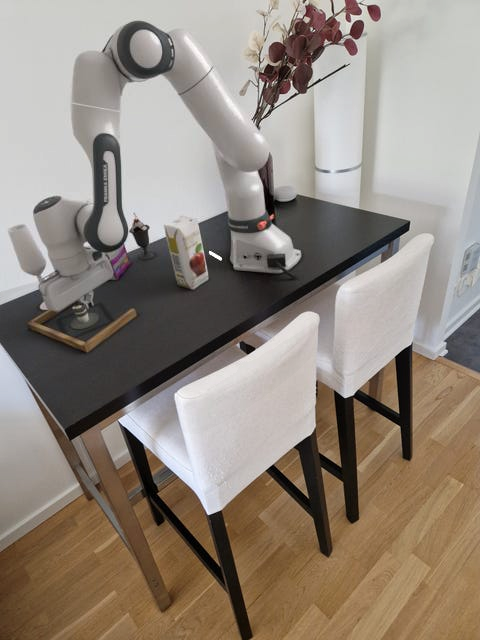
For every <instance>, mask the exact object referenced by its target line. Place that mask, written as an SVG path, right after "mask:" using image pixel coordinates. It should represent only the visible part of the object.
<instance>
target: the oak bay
mask: <svg viewBox="0 0 480 640" xmlns="http://www.w3.org/2000/svg"><path fill="white" fill-rule="evenodd" d="M77 302H78V301H77V300H76V301H75V302H73V303H71V304H70V305H68V306H67V307H65V308H64V309H62V310H61V311H59V312H55V311H52V310H45V311H44V312H42V313H41V314H39V315H38V316H35V318H33V319H31V320H29V321H28V322H27V323H26V324H27V326H28V328H29V329H30V330H31V331H34V332H36V333H39V334H41V335H44V336H46V337H49V338H51V339H54V340H56V341H58V342H61V343H63V344H65V345H68V346H70V347H73V348H74V349H77V350H80V351H81V352H82V351H83V352H85V353H86V354H87V353H89V352H90V351H93V349H95V348H96V347H97V346H99V345H100V344H102V342H104V341H105V340H106V339H107V338H109V337H110V336H112V335H114V333H116V332H117V331H118V330H120V329H121V328H123V327H124V326H125V325H126V324H128V323H129V322H131V321H132V320H133V319H134V318H136V317H137V316H138V314H137V312H136V309H135V308H130V309H129V310H127V312H125V313H124V314H122V315H121V316H120V317H118V318H117V319H115V320H114V321H113V322H111V323H110V324H109V325H107V326H106V327H104V328H103V329H102V330H100V331H99V332H98V333H96V334H95V335H94V336H92V337H91V338H89V339H87V341H86V342H85V341H83V340H81V339H79V338H78V339H77V338H76V337H72V336H70V335H68V334H65V333H63V332H60V331H58V330H55V329H53V328H50V327H47V326H45V325H43V324H44V323H45V322H47V321H49V320H50V319H52V318H53V317H55V316H56V315H59V314H60V313H62V312H63V311H64V310H66V309H68V308H69V307H71V306H72V305H75V303H77Z"/></svg>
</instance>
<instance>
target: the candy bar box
mask: <svg viewBox="0 0 480 640" xmlns="http://www.w3.org/2000/svg"><path fill="white" fill-rule="evenodd" d="M105 257H107V258H108V260H109V261H110V264H111V266H112V269H113V272H114V273H113V277H112V278H111V279H109V280H108V281H117V280H118V279H119V278H120V277H121V276H122V275H123V274H124V272H125V271H126V269H127V268H128V267H129V266H130V265H131V261H130V258H129V254H128V252H127V249H126V245H125V243H124V244H123V245H122V246H121V247H120V248H119V249H117V250H115V251H113V252H108V253H105Z"/></svg>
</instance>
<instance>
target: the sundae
mask: <svg viewBox="0 0 480 640" xmlns="http://www.w3.org/2000/svg"><path fill="white" fill-rule="evenodd" d="M133 215H134V219H133V222H132V224H131V227H130V228H129V230H128V233H130V234H132V236H133V238H134V241H135V244H136V245H137V247H140V248H142V250H143V254H141V255H140V256H139V259H140V260H142V261H149V260H151V259H153V258H154V257H155V254H154V253H153V252H149V251H148V248H147V247H148V246H149V244H150V237H149V230H150V226H149V225H148V224H145V223H143V222H142V221H141V220H140V219H139V218H138V216H137V215H136V212H133Z"/></svg>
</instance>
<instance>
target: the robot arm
mask: <svg viewBox="0 0 480 640" xmlns="http://www.w3.org/2000/svg"><path fill="white" fill-rule="evenodd" d="M159 76H161V77H163V78H164V79H166V80H167V82H168V83H169V84H170V85H171V87H172V88H173V90H174V91H175V94H177V96H178V97H179V99H180V101H182V103H183V105H184V106H185V108H186V109H187V110H188V112H189V113H190V114H191V116H192V117H193V119H194V120H195V122H196V123H197V124H198V125H199V127H201V129H202V130H203V132H205V134H206V136H208V138H209V139H210V141H211V147H212V149H213V152H214V157H215V161H216V165H217V168H218V172H219V176H220V179H221V182H222V186H223V190H224V195H225V201H226V207H227V208H226V209H227V225H228V229H229V230H230V231H229V232H230V256H229V261H230V263H231V264H232V265H233V270H235V271H244V272H256V273H266V274H268V273H269V274H282V273H284V274H286V275H287V276H288V277H290V278H292V279H294V280H295V279H297V275H296V274H294V273H292V272H291V271H289V270H290V269H292V268H293V267H294V266H296V265H297V264H298V263H299V261H300V260H301V258H302V252H301V250H300V249H296V248H294V245H293V241H292V239H291V237H290V236H289V235H288V234H287V233H285V232H284V231H283V230H282V229H280V228H278V227H277V226H276V225H275V224H274V223H273V221H272V220H273V219H274V218H275V215H274V213H272V214H271V215H269V212H268V210H267V209H266V203H265V201H266V200H265V193H264V192H265V191H264V185H263V181H262V179H261V177H260V174H259V170H260V169H262V168H264V166H265V165H266V164H267V162H268V159H269V156H270V145H269V143H268V141H267V139H266V138H265V136H264V135H263V134H262V132H261V131H260V130H259V128H258V127H257V126H256V124H255V123H254V121H253V120H252V119H251V117H250V116H249V114H248V113H247V112H246V111H245V109H244V108H243V107H242V106H241V104H240V103H239V101H237V99H236V98H235V97H234V94H232V92H231V90H230V89H229V88H228V86H227V85H226V83H225V81H224V80H223V78H222V76H221V75H220V73H219V71H218V70H217V68H216V67H215V65H214V63H213V62H212V61H211V59H210V57H209V56H208V54H207V53H206V52H205V50H204V49H203V47H202V46H201V45H200V44H199V42H198V41H197V40H196V39H195V38H194V37H193V36H192V34H191V33H190V32H189V31H188V30H186V29H184V28H174V29H171V30H169V31H167V32H165V31H163V30H161V29H160V28H158V27H157V26H155V25H153V24H152V23H150V22H147V21H144V20H132V21H130V22H128V23H126V24H125V23H124V24H123V25H121V26H119V27H118V28H117V29H116V30H115V31H114V33H113V34H112V35H111V36H110V37H109V39H108V40H107V42H106V44H105V46H104V47H103V49H102V51H99V50H86V51H83V52H80V53H79V54H78V55H77V57H76V58H75V60H74V65H73V69H72V76H71V84H70V99H69V100H70V102H69V113H70V123H71V129H72V133H73V136H74V139H75V140H76V141H77V143H78V144H79V145H80V146H81V148H82V149H83V152H84V153H85V154H86V157H87V159H88V161H89V163H90V167H91V173H92V175H91V177H92V199H83V200H82V199H81V200H80V199H79V200H77V199H71V198H67V197H66V198H65V197H64V196H61V195H53V196H49V197H47V198H44V199H42V200H40V201H39V202H38V203H37V204H36V205H35V206H34V208H33V211H32V217H33V221H34V225H35V228H36V231H37V233H38V235H39V238H40V241H41V243H42V244H43V245H44V246H45V248H46V250H47V251H46V252H47V256H48V259H49V262H50V263H51V266H52V268H53V270H54V271H52V272H50V273H49V274H48V275H46V276H43V277H42V279H41V281H40V283H39V282H38V286H37V287H38V290H39V292H40V294H41V296H42V299H43V302H45V305H46V307H47V308H48V309H49V310H52V311H55V312H59V311H61V310H62V309H64V308H65V307H67V306H68V305H70V304H71V303H73V302H75V301H76V300H77V302H78V303H79V304H80V303H83V304H85V306H86V310H90V309H91V308H92V307H93V306H94V305H95V304H94V301H93V298H94V290H95V289H96V288H98V287H100V286H101V285H103V284H104V283H106V282H107V281H110V280H109V279H111V278H112V277H113V273H114V272H113V269H112V266H111V264H110V261H109V260H108V258H107V257H105V253H108V252H113V251H115V250H117V249H119V248H120V247H121V246H122V245H123V244H124V245H125V243H126V241H127V239H128V237H129V225H128V223H127V219H126V217H125V214H124V208H123V189H122V187H123V186H122V185H123V183H122V182H123V181H122V180H123V179H122V157H121V124H122V122H121V120H122V96H123V92H124V89H125V87H126V85H127V84H128V83H142V82H146V81H148V80H150V79H154V78H156V77H159ZM85 243H87V244H88V245H85ZM209 255H211V256H213V257H214V258H216V259H218V260H219V261H222V257H221V256H219V255H217V254H216V253H214V252H212V251H210V250H209ZM42 282H43V283H42ZM75 303H76V302H75ZM64 310H65V309H64ZM61 312H62V311H61Z"/></svg>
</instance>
